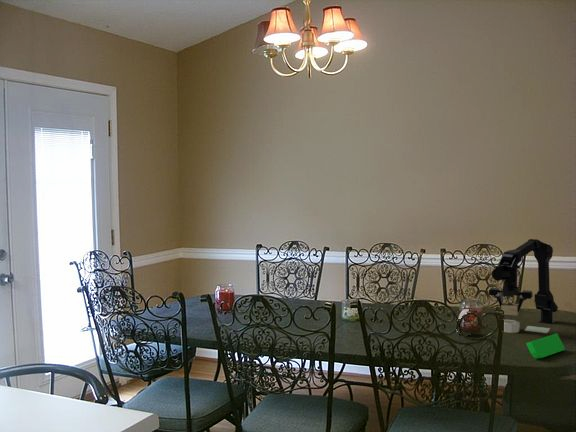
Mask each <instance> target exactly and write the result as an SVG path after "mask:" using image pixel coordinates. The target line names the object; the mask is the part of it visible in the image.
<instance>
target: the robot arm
mask: <svg viewBox="0 0 576 432" xmlns="http://www.w3.org/2000/svg"><path fill="white" fill-rule="evenodd" d="M531 252H533V255H534V258H535V259H536V261H537V273H538V274H537V275H538V276H537V277H538V290H537V293H535V294H534V295H533V293H534V292H533V291H532V290H522V291H519V286H518V269H521V266H520V265H519V264H520V263H521V261H523V260H522V259H523V258H524V257H525V256H527V255H528V254H529V253H531ZM553 252H554V248H553V246H552V245H551V244H547V243H545V242H543V241H541V240H540V239H536V238H530V239H528V240H527V241H526V242H524V243H523V244H521V245H519V246H518V247H516V248H514V249H510V250H509V249H508V250H506V251H504V252H503V253H502V255H501V258H499V262H498V263H497V265H495V268H494V269H493V270H492V271H491V277H492V278H493V280H494V281H496V282H497V281H503V286H502V288H501V289H500V288H499V287H491V288H490V289H489V290H488V296H492V297H493V298H496V300H497V301H498V304H499V307H500V308H501V305H502V304H503V303H504V301H503V300H504V299H503V297H509V298H513V297H514V296H515V297H516V296H518V297H519V298H518V304H519V305H518V312H519V313H520V311H521V308H522V305H523V303H524V301H526V300H527V299H529V300H531V299H533V296H534V304H535V305H534V306H535V309H536V310H540V316H539V317H540V318H539V321H538V323H541V324H550V325H553V324H554V323H555V320H553V319H554V313H557V312H558V310H559V309H558V305H557V303H556V302H555V299H554V294H553V293H552V292H551V290H550V261H551V259H552V258H553Z"/></svg>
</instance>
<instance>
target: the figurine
mask: <svg viewBox="0 0 576 432" xmlns="http://www.w3.org/2000/svg"><path fill="white" fill-rule="evenodd" d="M468 311H469V308H465V309H463V310H462V311H461V312H460V313H459V315H458V318H457V320H458V319H461V318H462V316H463V315H464V314H465V313H467V312H468ZM457 332H458V331H457V330H456V333H457Z"/></svg>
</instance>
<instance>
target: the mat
mask: <svg viewBox="0 0 576 432" xmlns="http://www.w3.org/2000/svg"><path fill="white" fill-rule="evenodd" d="M550 329H551V328H550V327H543V326H541V327H540V326H532V325H527V326H526V328H525V329H524V331H525V332H533V333H542V334H548V333H549V332H550Z"/></svg>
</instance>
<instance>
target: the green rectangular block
mask: <svg viewBox="0 0 576 432" xmlns="http://www.w3.org/2000/svg"><path fill="white" fill-rule="evenodd" d="M525 344H526V346H527V348H528V350H529V352H530V354H531V356H532V357H533V358H534V359H536V360H540V359H543V358H546V357H548V356H552V355H554V354H557V353H560V352H562V351H565V350H566V348H565V346H564V344H563V342H562V339H561V338H560V336H559V334H558V333H557V332H555V333H553V334H550V335H547V336H544V337H541V338H538V339H534V340H532V341H529V342H526V343H525Z"/></svg>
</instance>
